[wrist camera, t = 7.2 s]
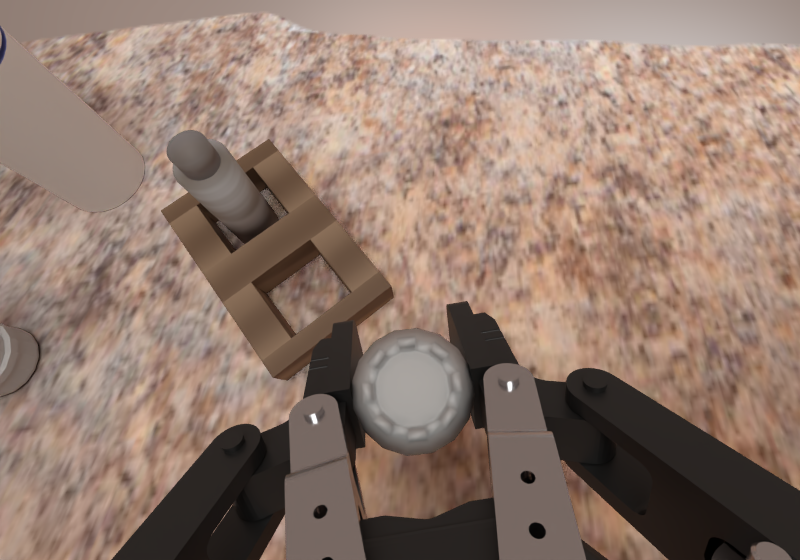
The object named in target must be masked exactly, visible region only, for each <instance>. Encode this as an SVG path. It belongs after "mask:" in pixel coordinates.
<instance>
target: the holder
mask: <svg viewBox="0 0 800 560" xmlns="http://www.w3.org/2000/svg"><path fill="white" fill-rule="evenodd" d="M167 156H168V158H169V160H170V161H171V162H172V163H173V174H174V177H175V179H176V180H177V182H178V183H179V184H180V185H181V186H183V187H184V188H185V189H186V190H187V191H188V193H187V194H185V195H184V196H182V197H181V198H179V199H178V200H176V201H175V202H173V203H172V204H170V205H169V206H167V207H166V208H164V209H163V210H161V212H162V213H163V215H164V216H165V218H166V219H167V221H168V222H169V224H170V225H171V227H172V228H173V230H174V231H175V233H176V234H177V236H178V237H179V239H180V240H181V242H182V243H183V245H184V246H185V248H186V249H187V251H188V252H189V254H190V255H191V257H192V258H193V260H194V261H195V262H196V264H197V265H198V267H199V268H200V270H201V271H202V273H203V274H204V276H205V277H206V279H207V280H208V282H209V283H210V285H211V286H212V288H213V289H214V291H215V292H216V294H217V295H218V297H219V298H220V300H221V301H222V303H223V304H224V306H225V307H226V309H227V310H228V312H229V313H230V315H231V316H232V317H233V319H234V320H235V322H236V323H237V325H238V326H239V328H240V329H241V331H242V332H243V334H244V335H245V337H246V338H247V340H248V341H249V343H250V344H251V346H252V347H253V349H254V350H255V352H256V353H257V355H258V356H259V358H260V359H261V361H262V362H263V364H264V365H265V367H266V368H267V370H268V371H269V373H270V374H271V375H272V377H273V378H277V379H283V380H288V379H290V378H291V377H292V376H293V375H295V374H296V373H297V372H299V371H300V370H301V369H302V368H304V367H305V366H306V365H308V364H309V363H310V362H311V356H312V351H313V349H314V347H315V346H316V345H317V344H318V342H319V341H320V340H321V339H327V338H331V336H332V328H333V323H338V322H344V321H350V320H354V321H355V323H356V326H357V325H359V324H360V323H361V322H363V321H364V320H365V319H366V318H368V317H369V316H370V315H372V314H373V313H374V312H375V311H377V310H378V309H379V308H381V307H382V306H383V305H384V304H386V303H387V302H388V301H390V300H391V299H392V298H393V297H394V296H393V291H392V287H391V285H390V284H389V283H388V282H387V280H386V279H385V278H384V277H383V276H382V274H381V273H380V272H379V271H378V270H377V268H376V267H375V266H374V265H373V264H372V262H371V261H370V260H369V259H368V258H367V256H366V255H365V254H364V253H363V252H362V250H361V249H360V248H359V247H358V246H357V244H356V243H355V242H354V241H353V239H352V238H351V237H350V236H349V235H348V233H347V232H346V231H345V230H344V229H343V227H342V226H341V225H340V224H339V223H338V221H337V220H336V219H335V218H334V217H333V215H332V214H331V213H330V212H329V211H328V209H327V208H326V207H325V206H324V205H323V203H322V202H321V201H320V200H319V199H318V197H317V196H316V195H315V194H314V193H313V191H312V190H311V189H310V188H309V187H308V185H307V184H306V183H305V182H304V181H303V179H302V178H301V177H300V176H299V175H298V173H297V172H296V171H295V170H294V169H293V167H292V166H291V165H290V164H289V163H288V161H287V160H286V159H285V158H284V157H283V155H282V154H281V153H280V152H279V151H278V149H277V148H276V147H275V146H274V145H273V143H272V142H271V141H270V140H269V139H268V140H267V141H265V142H264V143H262V144H261V145H259V146H258V147H256V148H255V149H253V150H252V151H250V152H249V153H247V154H246V155H244V156H243V157H241V158H240V159H238V160H237V161H236V160H235V159H234V157H233V156H232V155H231V153H230V152H229V151H228V149H227V148H226V147H225V146H224V145H223V144H222V143H220V142H219V141H216V140H213V139H207V138H206V137H205V136H204V135H203V134H202V133H200V132H198V131H194V130H188V131H183V132H181V133H179V134H177V135H176V136H174V137H173V138H172V139H171V141H170V142H169V144H168V146H167ZM266 187H267V188H268V189H269V190H270V192H271V193H272V194H273V195H274V197H275V198H276V199H277V200H278V202H279V203H280V204H281V205H282V207H283V208H284V209H285V211H286V212H287V213H288V214H287V215H286V216H284V217H283V218H282V219H280V220H279V219H278V217H277V215H276V213H275V212H274V211H273V209H272V208H271V207H270V205H269V204H268V203H267V201H266V200H265V199H264V197H263V196H262V195H261V193H260V192H261V191H262V190H263V189H265V188H266ZM218 220H219V221H220V222H221V223H223V224H224V225H225V226H226V227H227V228H228V229H229V230H230V231H231V232H232V233H233V234H234V235H236V236H237V237H238V238H239V239H240V240H241V241H242V242H243V243H245V245H243V246H242V247H240V248H239V249H238V250H235V249H234V248H233V246H232V245H231V243H230V242H229V241H228V239H227V238H226V236H225V235H224V234H223V232H222V231H221V229H220V228H219V227H218V225H217V224H216V222H217V221H218ZM319 254H320V255H321V256H322V257H323V259H324V260H325V261H326V262H327V264H328V265H329V266H330V267H331V269H332V270H333V271H334V272H335V274H336V275H337V276H338V278H339V279H340V280H341V281H342V283H343V284H344V285H345V286H346V288H347V289H348V290H349V291H350V294H349V295H348V296H346V297H345V298H344V299H342V300H341V301H340V302H338V303H337V304H336V305H334V306H333V307H332V308H330V309H329V310H328V311H327V312H325V313H324V314H323V315H321V316H320V317H319V318H317V319H316V320H315V321H313V322H312V323H311V324H310V325H308V326H307V327H306V328H304V329H303V330H302V331H300V332H299V333H298V334H295V333H294V331H293V330H292V328H291V327H290V326H289V324H288V323H287V321H286V320H285V319H284V317H283V316H282V315H281V313H280V312H279V310H278V309H277V308H276V306H275V305H274V303H273V302H272V301H271V299H270V298H269V296H268V295H267V294H266V293H268V292H269V291H270V290H272V289H273V288H274V287H276V286H277V285H279V284H280V283H281V282H283V281H284V280H285V279H287V278H288V277H289V276H291V275H292V274H294V273H295V272H296V271H298V270H299V269H300V268H302V267H303V266H304V265H306V264H307V263H309V262H310V261H311V260H313V259H314V258H315V257H317V256H318V255H319Z"/></svg>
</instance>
